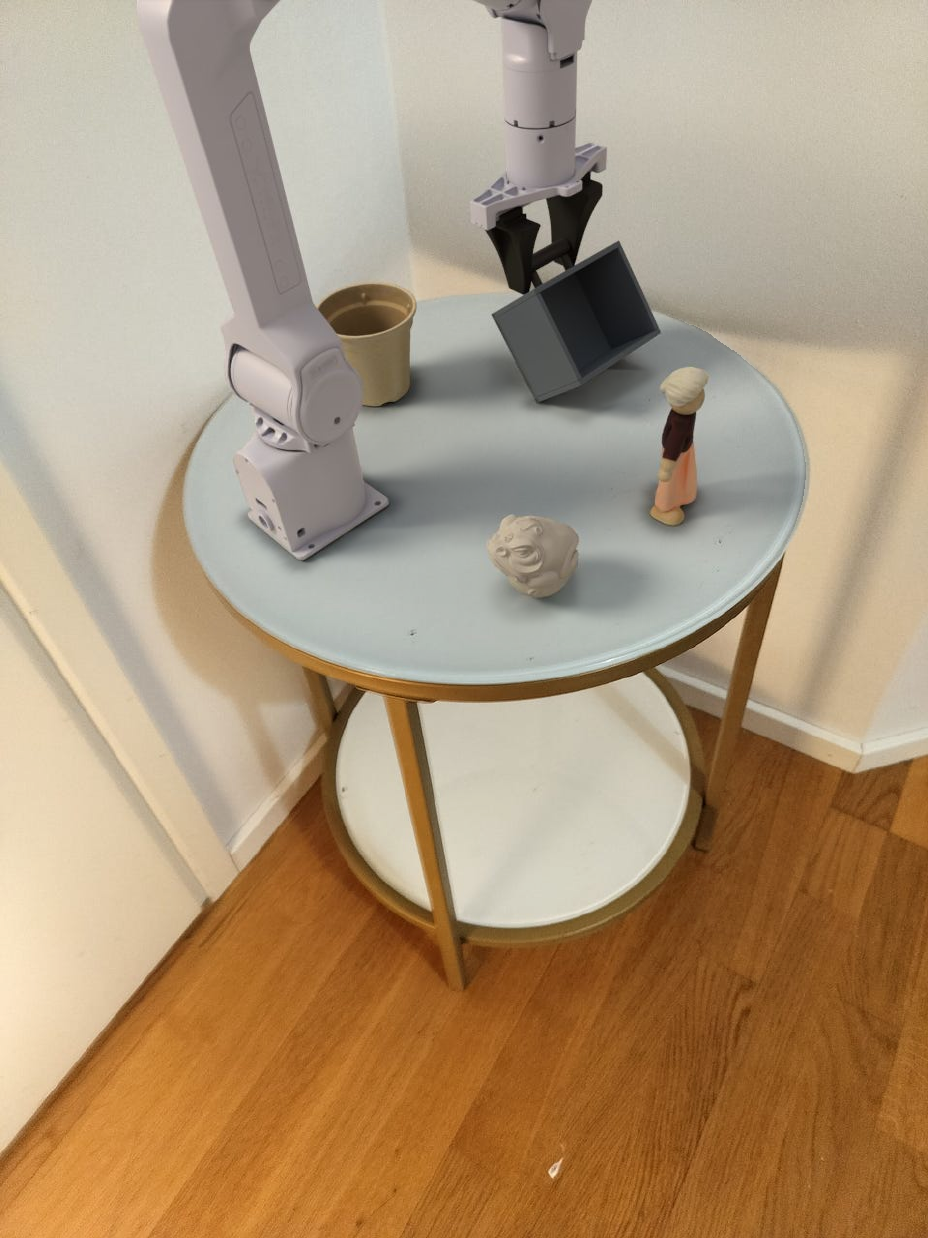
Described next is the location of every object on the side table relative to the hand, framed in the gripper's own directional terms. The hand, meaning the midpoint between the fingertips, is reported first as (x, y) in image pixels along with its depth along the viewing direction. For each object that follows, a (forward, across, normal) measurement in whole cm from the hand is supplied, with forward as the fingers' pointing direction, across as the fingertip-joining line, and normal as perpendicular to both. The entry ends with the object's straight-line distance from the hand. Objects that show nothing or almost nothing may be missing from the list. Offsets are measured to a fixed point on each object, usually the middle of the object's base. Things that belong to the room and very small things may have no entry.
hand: (541, 276), depth 79 cm
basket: (+4, 0, -1) cm, 4 cm away
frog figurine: (+9, -22, -21) cm, 32 cm away
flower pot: (+9, -14, +9) cm, 19 cm away
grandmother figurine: (+9, -8, -22) cm, 25 cm away
